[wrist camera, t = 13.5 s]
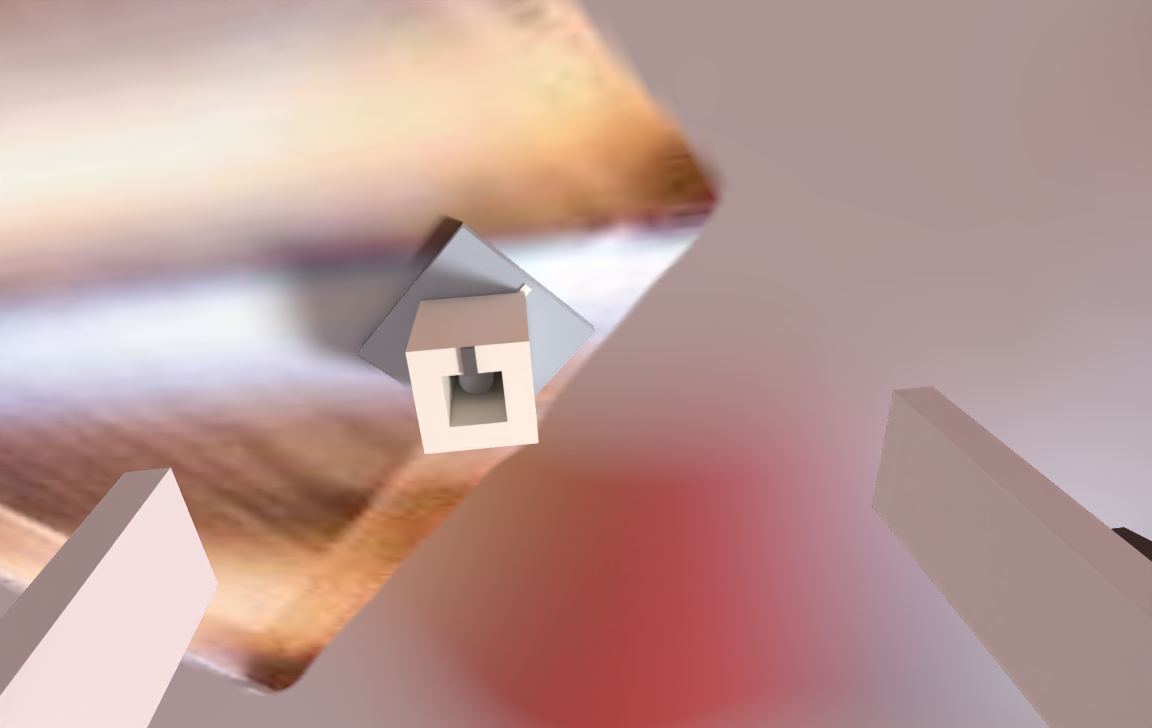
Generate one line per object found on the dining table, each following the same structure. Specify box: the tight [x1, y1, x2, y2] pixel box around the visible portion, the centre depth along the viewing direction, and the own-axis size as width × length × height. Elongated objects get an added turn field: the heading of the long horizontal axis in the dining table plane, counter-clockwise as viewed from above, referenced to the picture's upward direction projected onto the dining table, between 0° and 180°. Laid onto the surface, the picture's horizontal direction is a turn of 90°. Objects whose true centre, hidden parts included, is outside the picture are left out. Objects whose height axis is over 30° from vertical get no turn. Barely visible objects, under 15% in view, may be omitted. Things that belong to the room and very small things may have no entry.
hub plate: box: [358, 223, 595, 396], centre depth 45 cm, size 12×12×7 cm
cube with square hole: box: [405, 292, 538, 454], centre depth 44 cm, size 7×7×8 cm
